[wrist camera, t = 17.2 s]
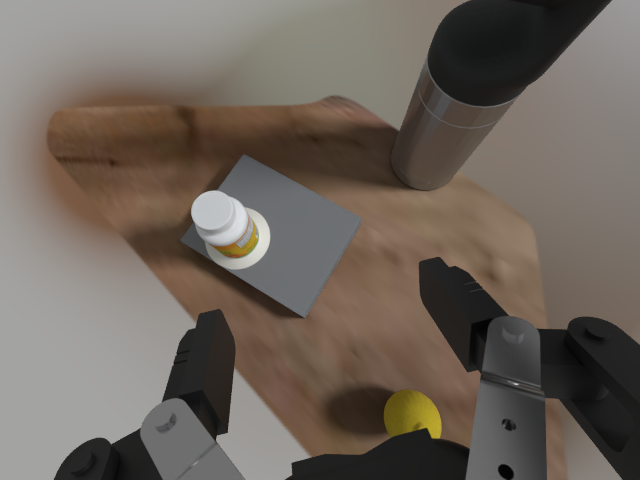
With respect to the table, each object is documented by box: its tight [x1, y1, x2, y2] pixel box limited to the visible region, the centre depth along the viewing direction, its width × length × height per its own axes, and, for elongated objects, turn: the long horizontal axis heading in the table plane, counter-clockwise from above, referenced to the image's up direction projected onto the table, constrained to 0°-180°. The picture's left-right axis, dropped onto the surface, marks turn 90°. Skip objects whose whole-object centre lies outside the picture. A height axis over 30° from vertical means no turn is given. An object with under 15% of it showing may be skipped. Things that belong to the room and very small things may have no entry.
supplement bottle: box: [191, 191, 259, 259], centre depth 35 cm, size 5×5×10 cm
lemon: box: [384, 389, 441, 439], centre depth 34 cm, size 6×6×8 cm
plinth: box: [180, 154, 362, 318], centre depth 42 cm, size 14×18×3 cm
